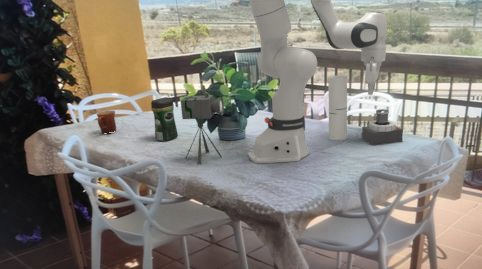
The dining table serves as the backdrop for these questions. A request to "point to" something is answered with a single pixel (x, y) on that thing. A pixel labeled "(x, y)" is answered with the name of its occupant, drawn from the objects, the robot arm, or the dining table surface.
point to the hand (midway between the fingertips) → (371, 92)
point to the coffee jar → (164, 119)
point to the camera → (201, 114)
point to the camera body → (382, 133)
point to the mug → (106, 121)
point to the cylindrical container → (337, 107)
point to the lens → (382, 117)
